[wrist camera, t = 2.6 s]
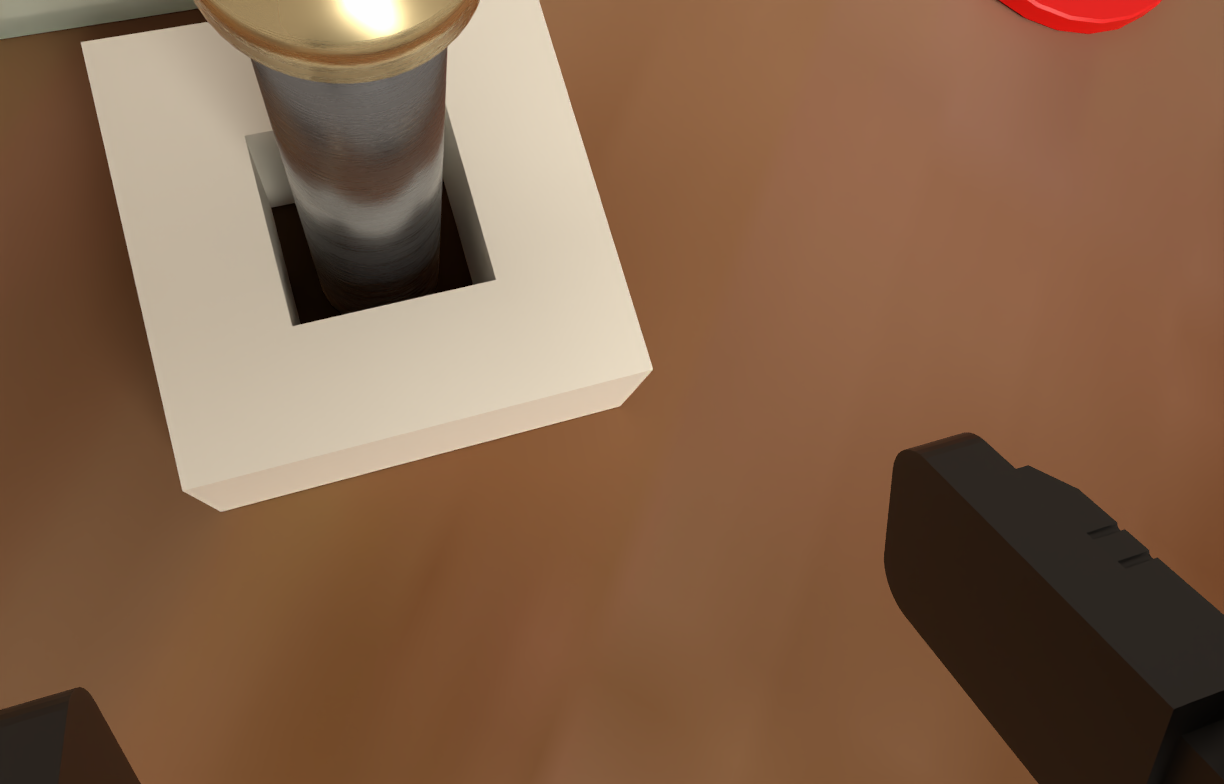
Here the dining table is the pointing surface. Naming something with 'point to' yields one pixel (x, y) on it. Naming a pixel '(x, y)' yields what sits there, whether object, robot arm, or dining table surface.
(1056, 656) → the robot arm
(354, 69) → the metal pin
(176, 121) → the socket block
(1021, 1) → the tow hook
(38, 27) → the tray
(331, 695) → the dining table surface
